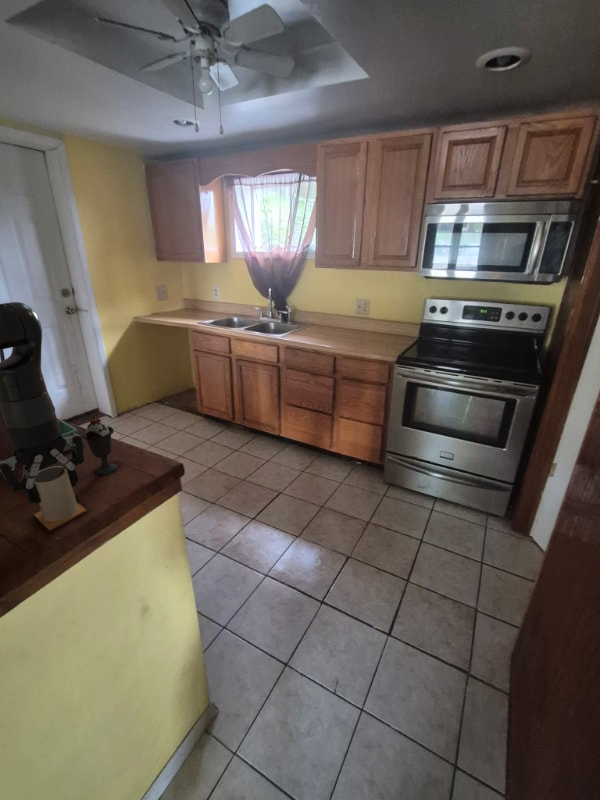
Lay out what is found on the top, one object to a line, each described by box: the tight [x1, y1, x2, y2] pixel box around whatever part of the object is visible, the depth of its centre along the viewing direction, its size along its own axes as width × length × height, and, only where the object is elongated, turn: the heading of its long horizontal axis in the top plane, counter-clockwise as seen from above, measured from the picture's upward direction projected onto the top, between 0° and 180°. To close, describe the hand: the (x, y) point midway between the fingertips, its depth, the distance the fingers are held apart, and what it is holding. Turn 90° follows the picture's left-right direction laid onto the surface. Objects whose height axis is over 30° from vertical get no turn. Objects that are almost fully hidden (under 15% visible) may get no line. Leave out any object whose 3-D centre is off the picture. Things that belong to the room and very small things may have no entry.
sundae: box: [81, 409, 118, 476], centre depth 87 cm, size 7×7×15 cm
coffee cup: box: [34, 465, 78, 522], centre depth 74 cm, size 6×6×9 cm
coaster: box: [33, 502, 88, 532], centre depth 75 cm, size 7×7×1 cm
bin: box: [58, 419, 80, 453], centre depth 98 cm, size 10×10×5 cm
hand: (54, 492), depth 73 cm, fingers closed on coffee cup, 6 cm apart
